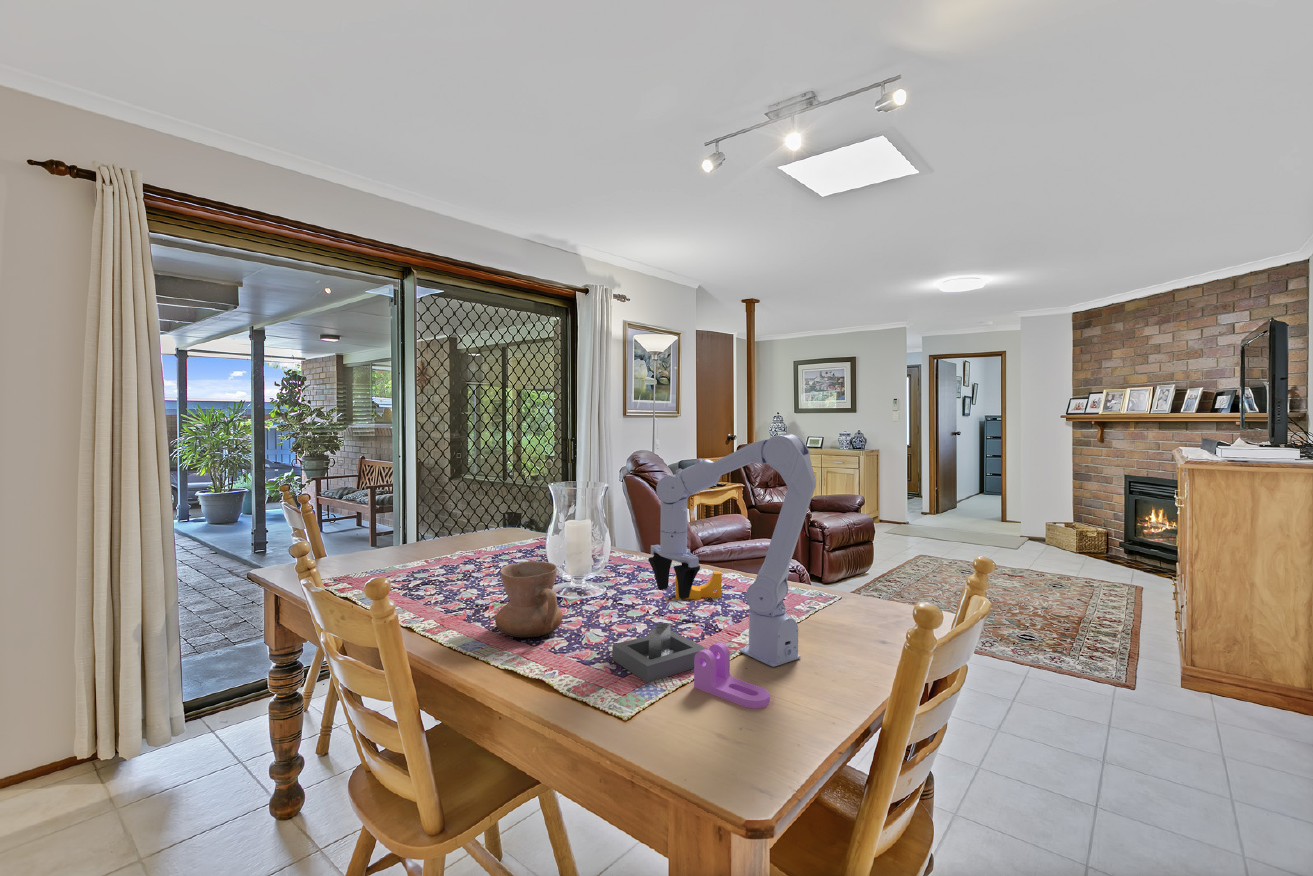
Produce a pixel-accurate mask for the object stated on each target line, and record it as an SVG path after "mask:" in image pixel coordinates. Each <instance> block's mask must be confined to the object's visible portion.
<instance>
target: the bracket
mask: <svg viewBox="0 0 1313 876" xmlns="http://www.w3.org/2000/svg"><path fill="white" fill-rule="evenodd" d="M705 661H706V662H705ZM730 665H731V654H730V650H729V648H728V646H727V645H726V644H724V643H723V642H720V641H719V642H716V643H713V644H712V645H710V646H709V647H708V648H707V649H703V650H701V651H699V652H697V653H696V655H695V657H694V668H693V688H695V689H697V690H700V691H702V692H705V693H708V694H710V695H713V696H715V697H719V698H721V699H723V700H726V701H729V702H731V703H734V704H737V705H739V706H742V707H744V708H748V709H762V708H765V707H767V706H769V705H770V701H771V700H770V699H771V696H770V692H769V691H768V690H767V689H766V688H764V687H763V686H760V685H757V684H753V683H750V682H747V681H744V680H742V679H739V678H736V677H734V676H731V671H730V670H731V669H730V668H731V666H730Z"/></svg>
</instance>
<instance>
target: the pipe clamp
mask: <svg viewBox="0 0 1313 876" xmlns="http://www.w3.org/2000/svg"><path fill="white" fill-rule="evenodd" d="M722 581H723V580H722V572H721V570H713V571H712V576H711V578H710V580H708V582H707V583H705V584H702V585H693V584H692V587H691V591H690V595H689V598H686V599H685V600H702V598H722V585H723V584H722ZM674 584H675V588H674V589H675V599H676V600H681V599H680V598H679V593H678V581H677V576H676V574H675V582H674ZM715 590H716V591H715Z"/></svg>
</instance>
